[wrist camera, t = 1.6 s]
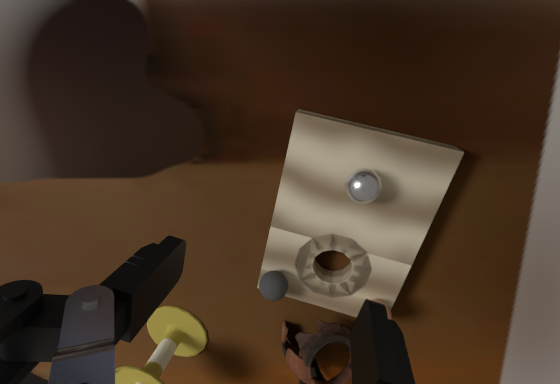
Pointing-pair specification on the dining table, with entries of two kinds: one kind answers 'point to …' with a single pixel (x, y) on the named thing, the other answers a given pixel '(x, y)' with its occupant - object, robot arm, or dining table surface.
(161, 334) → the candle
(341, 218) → the board
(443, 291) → the dining table surface
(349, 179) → the steel ball
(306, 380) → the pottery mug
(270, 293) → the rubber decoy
